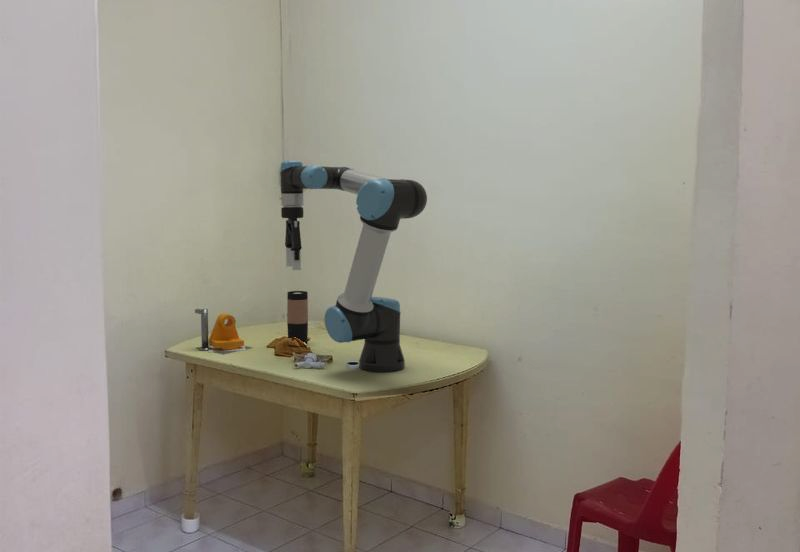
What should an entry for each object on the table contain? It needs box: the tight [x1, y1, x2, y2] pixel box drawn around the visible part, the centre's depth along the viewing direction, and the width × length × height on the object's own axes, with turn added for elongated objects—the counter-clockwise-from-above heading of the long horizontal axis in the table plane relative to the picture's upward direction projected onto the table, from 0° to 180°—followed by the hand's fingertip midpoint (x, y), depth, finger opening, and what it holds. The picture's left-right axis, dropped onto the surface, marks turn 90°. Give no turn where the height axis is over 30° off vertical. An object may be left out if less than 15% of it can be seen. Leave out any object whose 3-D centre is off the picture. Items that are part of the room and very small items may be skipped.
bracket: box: [208, 312, 245, 350], centre depth 258 cm, size 11×7×12 cm, turn 126°
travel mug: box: [286, 290, 309, 345], centre depth 268 cm, size 8×8×20 cm
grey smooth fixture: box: [194, 308, 212, 352], centre depth 257 cm, size 7×4×15 cm
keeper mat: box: [194, 345, 254, 355], centre depth 260 cm, size 16×17×1 cm
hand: (293, 268), depth 247 cm, fingers open, 13 cm apart
